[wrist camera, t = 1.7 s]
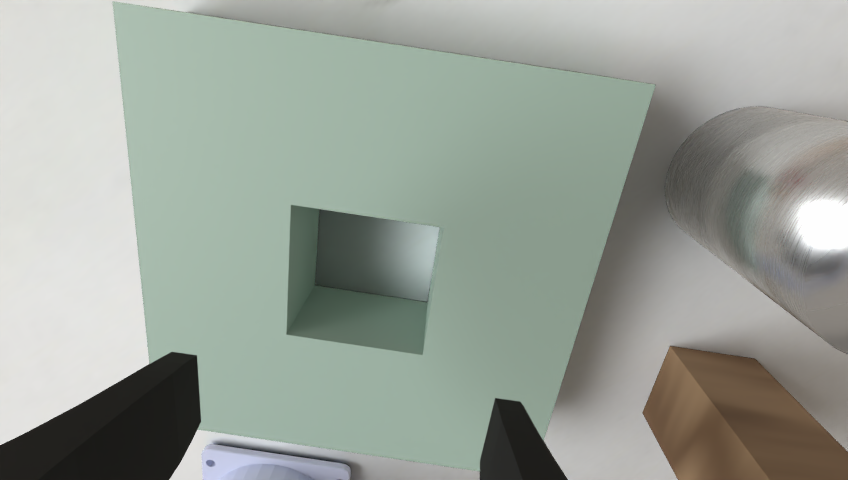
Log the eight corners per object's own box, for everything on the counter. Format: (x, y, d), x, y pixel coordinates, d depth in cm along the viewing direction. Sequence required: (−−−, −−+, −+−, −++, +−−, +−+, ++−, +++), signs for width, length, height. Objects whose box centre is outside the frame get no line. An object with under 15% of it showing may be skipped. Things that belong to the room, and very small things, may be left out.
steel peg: (777, 253, 20) (976, 376, 12) (646, 233, 20) (765, 344, 12) (841, 118, 17) (1129, 167, 10) (694, 95, 17) (874, 129, 10)
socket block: (518, 411, 23) (531, 479, 20) (202, 363, 23) (155, 423, 20) (611, 77, 17) (655, 84, 14) (185, 12, 17) (112, 1, 14)
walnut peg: (722, 424, 23) (850, 601, 16) (642, 412, 23) (733, 583, 16) (755, 358, 22) (914, 519, 14) (670, 345, 22) (785, 500, 14)
